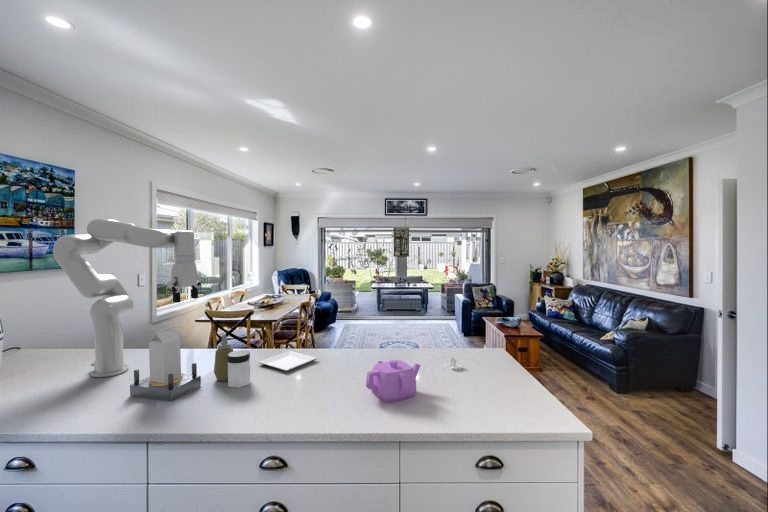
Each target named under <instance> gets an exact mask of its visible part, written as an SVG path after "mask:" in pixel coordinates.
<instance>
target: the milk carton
mask: <svg viewBox="0 0 768 512" xmlns="http://www.w3.org/2000/svg"><path fill="white" fill-rule="evenodd" d="M148 352H149V354H148V355H149V357H148V358H149V361H148V362H149V377H150V382H156V383H162V384H166V383H168V374H173V380H175V379H178V378H180V377H181V373H182V361H181V360H182V358H181V357H182V356H181V337H180V336H179V335H178V334H177V333H176V331H175V330H174V327H173V326H171V327H167V328H163V329H160V330H157V331H155V335H153V337H152V338H150V339H149V341H148Z"/></svg>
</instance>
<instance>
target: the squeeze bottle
mask: <svg viewBox="0 0 768 512" xmlns="http://www.w3.org/2000/svg"><path fill="white" fill-rule="evenodd" d="M233 351H234V348H232V347H231V342H228V337H227V334H222V336H221V341H220V343H218V344H217V349H216V350H215V356H214V365H213V366H214V369H213V373H214V376H215V378H216V380H217V381H219V382H226V381H227V382H228V360H227V355H228V353H230V352H233Z"/></svg>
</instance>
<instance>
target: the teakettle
mask: <svg viewBox="0 0 768 512" xmlns="http://www.w3.org/2000/svg"><path fill="white" fill-rule="evenodd" d="M420 367H421V364H419V363H414V365H413V366H411V365H410V364H408V363H406V362H405V361H403V360H401V359H400V360H399V359H398V360H396V359H390V360H388V361H383V360H378V361H377V363H376V364H374V365H373V367H372V370H370V371H367V373H366V381H365V382H366V383H365V387H366V388H367V389H368V390H371V393H372V394H373V395H374V396H376V398H377V399H379V400H380V401H381V402H382V403H384V404H385V403H387V404H389V403H395V402H400V401H404V400H407V399H411V398H413V397H416V393H417V380H416V378H417V375H418V373H419V371H420Z"/></svg>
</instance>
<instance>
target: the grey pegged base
mask: <svg viewBox="0 0 768 512" xmlns="http://www.w3.org/2000/svg"><path fill="white" fill-rule="evenodd" d="M197 367H198V366H197V363H196V362H193V363H191V373H182V372H181V377H180V378H178V379H175V380H173V374H168V383H166V384H162V383H156V382H150V376H148V377H145V378H143V379H141V380H140V369H134V370H133V382H134V383H132V384H129V396H130V397H134V398H135V397H136V398H140V399H141V398H142V399H143V398H144V399H148V400H149V399H150V400H154V401H155V400H156V401H163V402H170V403H172V402H174V401H176V400H177V399H179V398H181V397H183V396H185V395H186V393H187V394H188V392H189V393H191V392H192V391H194V390H196V389H197V388H196V387H198V386H200V385H201V386H202V378H201V377H202V376H201V375H198V373H197V371H198V369H197ZM201 386H200V387H201ZM195 388H196V389H195ZM198 388H199V387H198ZM193 389H194V390H193ZM191 390H192V391H191ZM190 391H191V392H190Z"/></svg>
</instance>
